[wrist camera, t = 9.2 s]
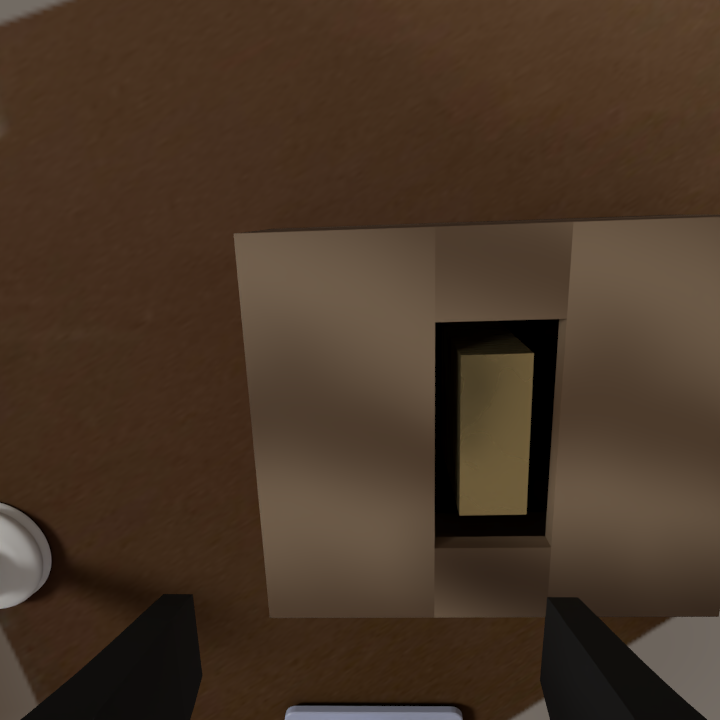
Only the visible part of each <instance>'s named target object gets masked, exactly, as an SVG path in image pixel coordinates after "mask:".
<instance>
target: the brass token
mask: <svg viewBox="0 0 720 720" xmlns="http://www.w3.org/2000/svg"><path fill="white" fill-rule="evenodd" d="M533 364H534V353H533V352H532V351H531V350H530V349H529V348H528V347H526V346H525V345H524V344H523V343H522V342H521V341H520V340H519V339H518V338H516V337H515V336H514V335H513V334H512V333H511V332H510V331H509V330H507V329H506V328H505V327H504V326H503V325H502V324H501V323H500V322H499V321H465V322H441V448H442V451H443V455H444V459H445V463H446V467H447V470H448V474H449V478H450V482H451V486H452V489H453V493H454V497H455V501H456V505H457V508H458V512H459V516H464V515H526V514H527V493H528V472H529V450H530V429H531V407H532V386H533Z"/></svg>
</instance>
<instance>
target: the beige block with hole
mask: <svg viewBox="0 0 720 720" xmlns="http://www.w3.org/2000/svg"><path fill="white" fill-rule="evenodd" d="M234 242H235V253H236V264H237V274H238V285H239V295H240V306H241V317H242V327H243V338H244V348H245V359H246V370H247V380H248V391H249V401H250V412H251V423H252V433H253V444H254V454H255V465H256V476H257V486H258V497H259V507H260V518H261V529H262V539H263V550H264V561H265V571H266V582H267V592H268V603H269V614H270V618H397V617H545V616H546V604H547V597H578V598H579V599H580V600H581V601H582V602H583V603H584V604H585V605H586V606H587V607H588V608H589V609H590V610H591V611H592V612H593V613H594V614H595V615H596V616H597V617H688V616H689V617H695V616H696V617H702V616H703V617H705V616H706V617H707V616H708V617H714V616H716V617H717V616H719V611H720V215H658V216H629V217H601V218H572V219H544V220H515V221H487V222H458V223H429V224H401V225H372V226H344V227H315V228H287V229H268V230H260V231H252V232H244V233H236V234H234ZM539 319H559V331H558V347H557V362H556V377H555V393H554V408H553V424H552V439H551V455H550V470H549V485H548V501H547V512H527V514H526V515H464V516H459V513H435V322H465V321H502V320H539Z"/></svg>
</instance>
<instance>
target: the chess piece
mask: <svg viewBox="0 0 720 720" xmlns="http://www.w3.org/2000/svg"><path fill="white" fill-rule="evenodd" d="M51 561H52V560H51V551H50V547H49V544H48V542H47V540H46V538H45V536H44V534H43V532H42V531H41V530H40V528H39V527H38V526H37V525H36V524H35V523H34V522H33V521H32V520H31V519H30V518H29V517H28V516H26V515H25V514H24V513H22V512H21V511H19V510H17V509H15V508H13V507H11V506H9V505H6V504H3V503H0V609H2V608H8V607H12V606H15V605H17V604H19V603H21V602H23V601H25V600H26V599H27V598H29V597H30V596H31V595H32V594H33V593H35V592H36V591H37V590H39V589H40V588H41V587H42V586H43V584H44V583H45V582H46V580H47V578H48V576H49V573H50V570H51Z"/></svg>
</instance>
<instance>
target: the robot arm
mask: <svg viewBox="0 0 720 720" xmlns="http://www.w3.org/2000/svg"><path fill="white" fill-rule="evenodd" d="M201 679H202V669H201V661H200V652H199V644H198V636H197V627H196V619H195V610H194V602H193V594H163V595H162V596H161V597H160V598H159V599H158V600H157V601H155V602H154V603H153V604H152V605H151V606H150V607H149V608H148V609H147V610H146V611H145V612H143V613H142V614H141V615H140V616H139V617H138V618H137V619H136V620H135V621H134V622H133V623H132V624H131V625H129V626H128V627H127V628H126V629H125V630H124V631H123V632H122V633H121V634H120V635H119V636H118V637H116V638H115V639H114V640H113V641H112V642H111V643H110V644H109V645H108V646H107V647H105V648H104V649H103V650H102V651H101V652H100V653H99V654H98V655H97V656H95V657H94V658H93V659H92V660H91V661H90V662H89V663H88V664H87V665H85V666H84V667H83V668H82V669H81V670H80V671H79V672H78V673H76V674H75V675H74V676H73V677H72V678H70V679H69V680H68V681H67V682H66V683H64V684H63V685H62V686H61V687H60V688H58V689H57V690H56V691H55V692H54V693H52V694H51V695H50V696H49V697H48V698H46V699H45V700H44V701H43V702H42V703H40V704H39V705H38V706H37V707H36V708H34V709H33V710H32V711H31V712H30V713H28V714H27V715H26V716H25V717H23V718H22V719H21V720H190V718H191V715H192V711H193V708H194V705H195V701H196V697H197V693H198V690H199V686H200V682H201ZM540 681H541V686H542V690H543V694H544V698H545V702H546V706H547V709H548V713H549V717H550V720H707V719H706V718H705V717H704V716H702V715H701V714H700V713H699V712H698V711H696V710H695V709H694V708H693V707H692V706H691V705H690V704H688V703H687V702H686V701H685V700H684V699H683V698H682V697H681V696H679V695H678V694H677V693H676V692H675V691H674V690H673V689H672V688H671V687H670V686H668V685H667V684H666V683H665V682H664V681H663V680H662V679H661V678H660V677H659V676H658V675H657V674H656V673H655V672H654V671H652V670H651V669H650V668H649V667H648V666H647V665H646V664H645V663H644V662H643V661H642V660H641V659H640V658H639V657H638V656H637V655H636V654H635V653H634V652H633V651H632V650H631V649H630V648H629V647H628V646H627V645H626V644H624V643H623V642H622V641H621V640H620V639H619V638H618V637H617V636H616V635H615V634H614V633H613V632H612V631H611V630H610V629H609V628H608V627H607V626H606V625H605V624H604V623H603V622H602V621H601V620H600V619H599V618H598V617H597V616H596V615H595V614H594V613H593V612H592V611H591V610H590V609H589V608H588V607H587V606H586V605H585V604H584V603H583V602H582V601H581V600H580V599H579V598H578V597H547V604H546V616H545V628H544V640H543V652H542V664H541V676H540ZM285 720H463V717H462V712H461V711H460V710H459V709H458V708H456V707H452V706H292V707H290V708H288V710H287V711H286V715H285Z"/></svg>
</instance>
